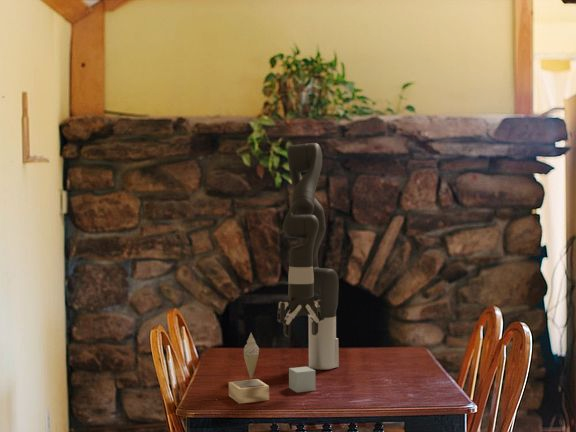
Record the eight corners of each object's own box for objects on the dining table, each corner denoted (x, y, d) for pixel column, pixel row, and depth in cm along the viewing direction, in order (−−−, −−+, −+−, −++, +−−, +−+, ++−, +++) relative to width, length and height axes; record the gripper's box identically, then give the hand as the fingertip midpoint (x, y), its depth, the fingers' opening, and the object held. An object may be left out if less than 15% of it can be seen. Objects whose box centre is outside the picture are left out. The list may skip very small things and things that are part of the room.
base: (258, 392, 226) (257, 378, 226) (269, 400, 218) (269, 385, 218) (228, 395, 223) (228, 381, 223) (239, 403, 214) (238, 388, 214)
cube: (307, 386, 234) (307, 366, 234) (315, 390, 228) (315, 370, 228) (289, 388, 232) (288, 368, 232) (296, 392, 226) (296, 372, 226)
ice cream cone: (261, 378, 243) (261, 331, 243) (255, 382, 239) (255, 334, 238) (246, 377, 245) (246, 330, 245) (240, 381, 240) (240, 333, 240)
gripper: (317, 279, 235) (317, 332, 236) (274, 281, 230) (274, 335, 230) (328, 281, 228) (327, 336, 229) (283, 283, 223) (283, 339, 223)
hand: (300, 335), depth 230 cm, fingers open, 8 cm apart
